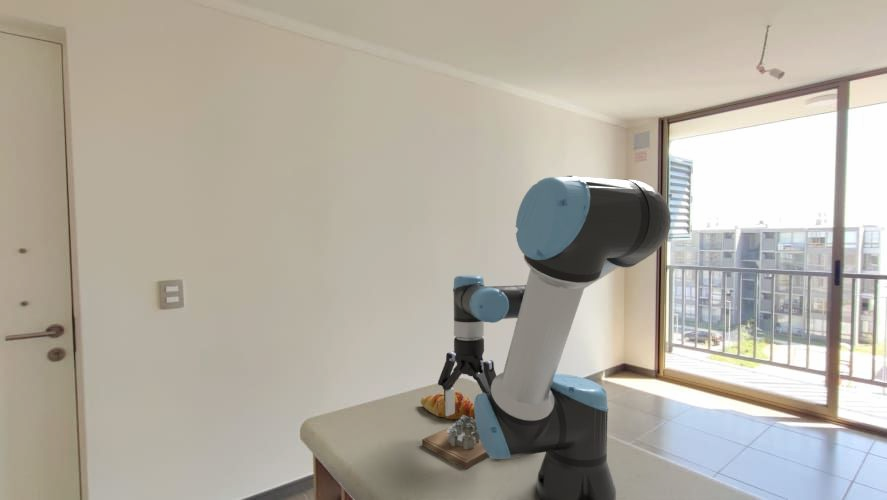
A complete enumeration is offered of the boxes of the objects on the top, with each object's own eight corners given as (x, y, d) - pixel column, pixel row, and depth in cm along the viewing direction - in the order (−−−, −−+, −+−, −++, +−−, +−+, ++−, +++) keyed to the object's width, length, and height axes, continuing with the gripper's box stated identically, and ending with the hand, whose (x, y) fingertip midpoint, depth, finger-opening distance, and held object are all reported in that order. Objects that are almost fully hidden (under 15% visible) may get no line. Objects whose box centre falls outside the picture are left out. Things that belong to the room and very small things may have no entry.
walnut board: (514, 441, 105) (514, 435, 105) (466, 469, 92) (466, 461, 92) (470, 423, 116) (470, 417, 116) (422, 445, 103) (422, 438, 103)
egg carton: (471, 452, 97) (471, 435, 97) (443, 444, 101) (443, 428, 100) (489, 433, 106) (489, 417, 106) (463, 426, 110) (463, 411, 110)
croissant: (416, 421, 125) (409, 402, 122) (430, 395, 133) (424, 377, 130) (481, 435, 115) (475, 415, 112) (492, 407, 123) (487, 387, 120)
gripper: (519, 342, 97) (519, 432, 97) (444, 328, 115) (445, 404, 115) (499, 347, 92) (499, 443, 92) (424, 332, 110) (425, 412, 110)
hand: (469, 422), depth 103 cm, fingers open, 13 cm apart
